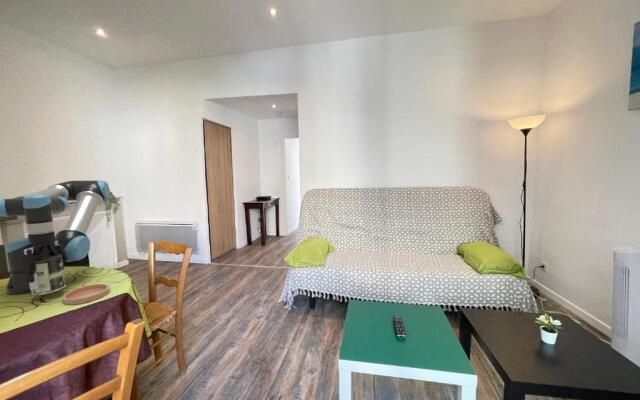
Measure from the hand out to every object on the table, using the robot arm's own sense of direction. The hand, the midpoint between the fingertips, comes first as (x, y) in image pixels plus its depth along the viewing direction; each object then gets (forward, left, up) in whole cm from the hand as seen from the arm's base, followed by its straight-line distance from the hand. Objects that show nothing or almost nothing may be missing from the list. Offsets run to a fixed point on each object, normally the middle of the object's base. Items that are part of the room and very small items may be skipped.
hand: (48, 283), depth 108 cm
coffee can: (0, 0, -3) cm, 3 cm away
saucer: (+7, +14, -6) cm, 17 cm away
